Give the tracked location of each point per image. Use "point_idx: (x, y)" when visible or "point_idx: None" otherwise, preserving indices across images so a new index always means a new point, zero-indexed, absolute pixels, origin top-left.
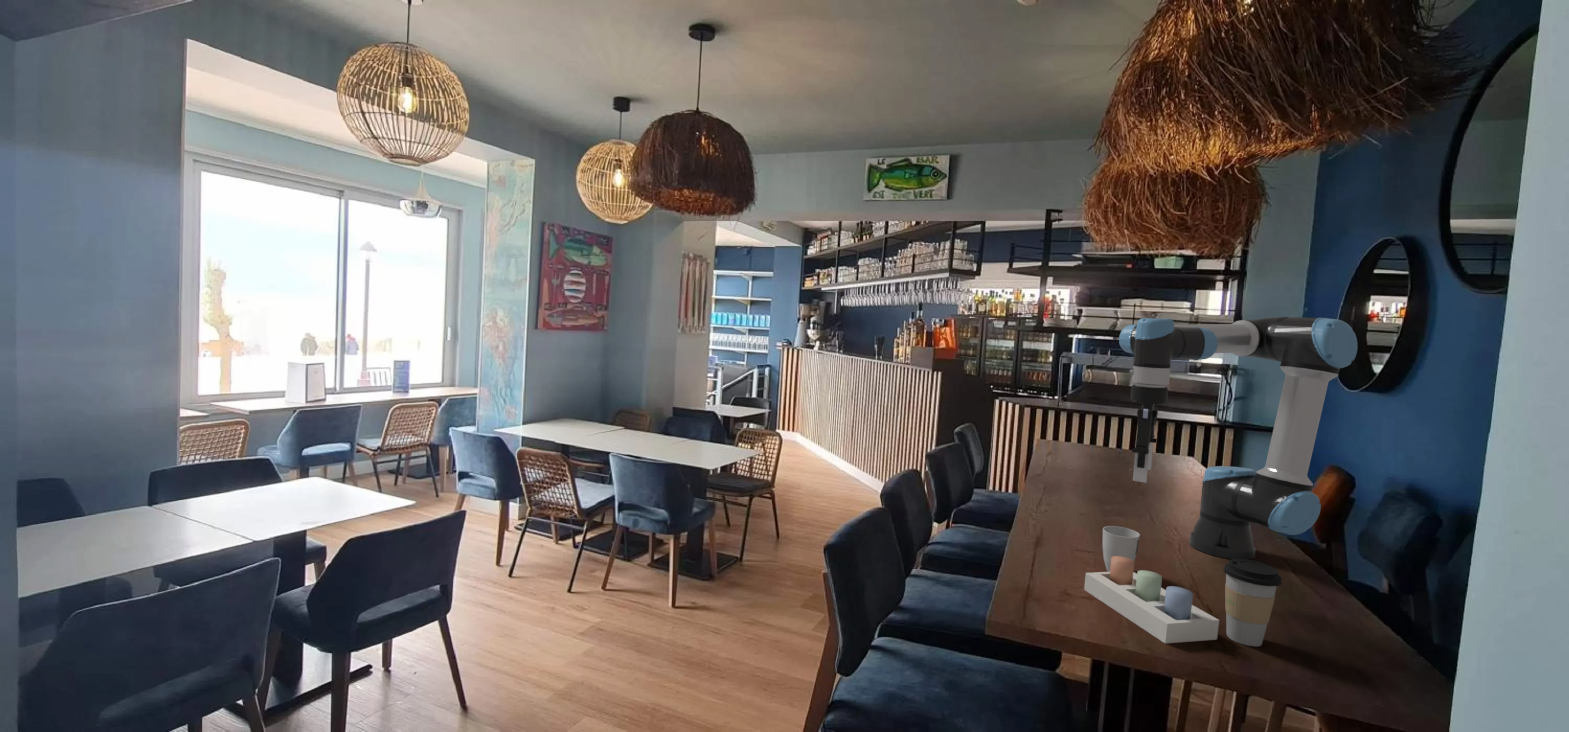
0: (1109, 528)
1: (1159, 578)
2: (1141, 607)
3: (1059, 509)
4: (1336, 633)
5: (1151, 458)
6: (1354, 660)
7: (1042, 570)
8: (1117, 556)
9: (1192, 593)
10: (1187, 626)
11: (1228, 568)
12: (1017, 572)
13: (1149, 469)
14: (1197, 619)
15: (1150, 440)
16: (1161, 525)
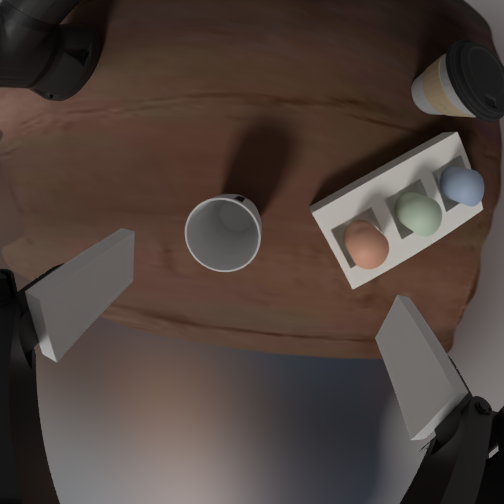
0: (196, 253)
1: (437, 204)
2: (452, 229)
3: (31, 268)
4: None
5: (100, 255)
6: (415, 3)
7: (291, 324)
8: (354, 256)
9: (473, 170)
10: None
11: (488, 114)
12: (313, 351)
13: (132, 238)
14: (465, 162)
15: (17, 317)
16: (19, 140)
